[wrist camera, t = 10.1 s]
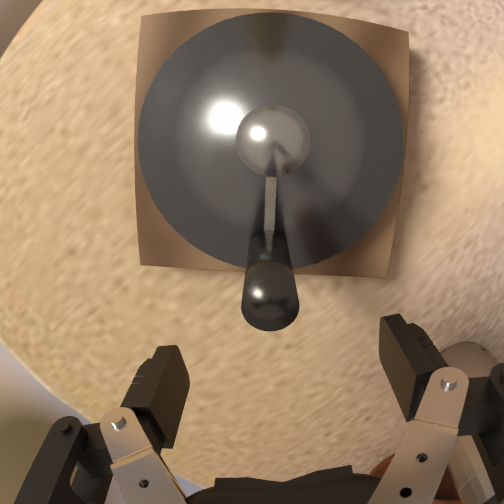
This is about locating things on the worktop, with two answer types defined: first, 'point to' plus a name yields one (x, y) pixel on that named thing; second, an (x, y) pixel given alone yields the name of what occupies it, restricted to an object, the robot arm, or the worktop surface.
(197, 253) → the wheel stand
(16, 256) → the worktop surface
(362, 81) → the handwheel
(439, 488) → the chocolate muffin
